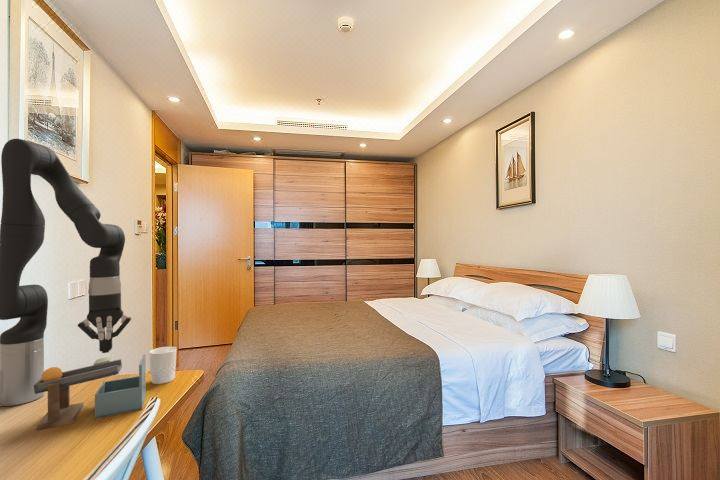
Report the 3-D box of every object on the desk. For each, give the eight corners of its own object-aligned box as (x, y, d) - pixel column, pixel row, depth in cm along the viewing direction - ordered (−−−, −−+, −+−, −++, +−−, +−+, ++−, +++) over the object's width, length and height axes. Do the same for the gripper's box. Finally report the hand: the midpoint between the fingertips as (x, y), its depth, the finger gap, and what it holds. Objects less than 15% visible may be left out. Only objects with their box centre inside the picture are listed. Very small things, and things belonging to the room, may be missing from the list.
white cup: (164, 385, 109) (164, 354, 109) (143, 384, 110) (143, 353, 110) (182, 376, 116) (181, 346, 116) (162, 375, 118) (161, 345, 118)
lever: (34, 394, 84) (33, 383, 84) (53, 376, 96) (52, 366, 96) (118, 374, 92) (116, 364, 92) (125, 359, 104) (124, 351, 104)
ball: (39, 388, 86) (37, 372, 85) (45, 382, 89) (43, 367, 89) (60, 383, 87) (58, 368, 87) (65, 378, 91) (63, 363, 91)
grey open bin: (95, 418, 88) (94, 371, 88) (103, 403, 97) (103, 360, 97) (141, 409, 93) (141, 364, 93) (145, 395, 102) (145, 354, 102)
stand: (36, 430, 83) (36, 387, 83) (50, 412, 92) (50, 374, 92) (73, 423, 86) (73, 382, 86) (83, 406, 95) (83, 369, 95)
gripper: (134, 289, 106) (134, 345, 106) (80, 292, 100) (80, 352, 100) (130, 291, 99) (131, 351, 99) (72, 295, 93) (73, 359, 93)
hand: (105, 352), depth 99 cm, fingers closed
